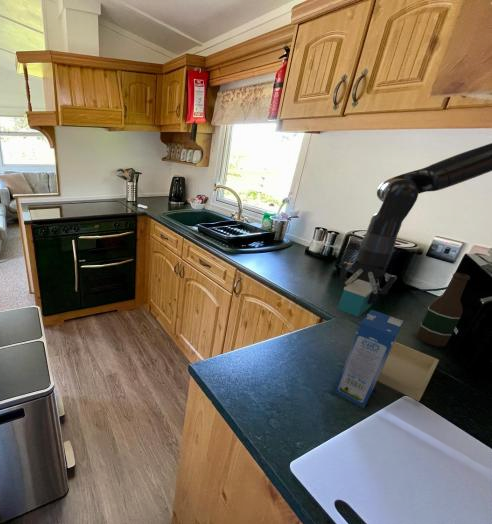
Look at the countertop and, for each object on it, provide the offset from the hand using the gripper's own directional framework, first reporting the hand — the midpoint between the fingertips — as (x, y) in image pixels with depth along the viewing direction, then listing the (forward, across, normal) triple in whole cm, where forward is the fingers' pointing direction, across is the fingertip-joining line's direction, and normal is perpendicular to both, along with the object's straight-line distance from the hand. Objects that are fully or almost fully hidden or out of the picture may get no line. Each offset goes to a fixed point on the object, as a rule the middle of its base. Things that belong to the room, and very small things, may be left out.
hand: (357, 299), depth 91 cm
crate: (+14, -14, +7) cm, 21 cm away
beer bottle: (+14, -18, -23) cm, 32 cm away
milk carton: (+14, -11, +26) cm, 31 cm away
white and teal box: (+3, 0, 0) cm, 3 cm away
